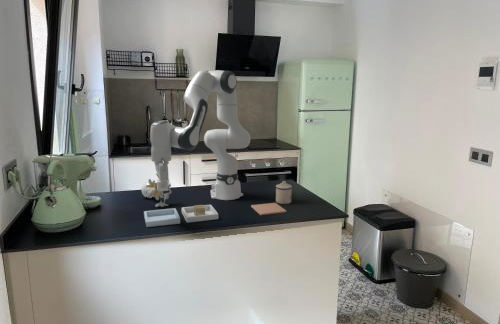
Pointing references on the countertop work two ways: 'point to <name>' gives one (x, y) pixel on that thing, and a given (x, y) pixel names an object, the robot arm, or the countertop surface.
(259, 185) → the countertop surface
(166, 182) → the letter cube
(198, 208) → the plain oak block
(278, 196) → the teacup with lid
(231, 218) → the countertop surface
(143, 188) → the flower vase
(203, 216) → the grey tray
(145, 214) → the blue grey tray
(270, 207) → the terracotta tile
